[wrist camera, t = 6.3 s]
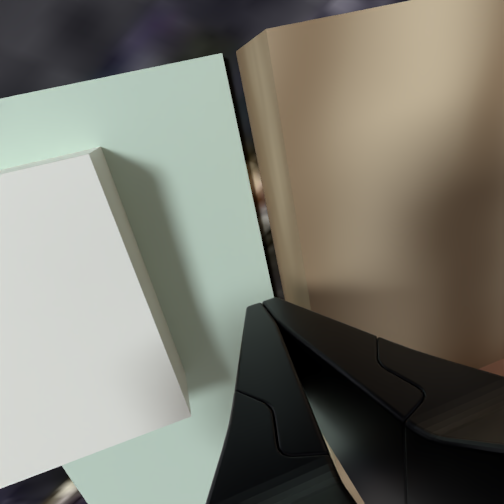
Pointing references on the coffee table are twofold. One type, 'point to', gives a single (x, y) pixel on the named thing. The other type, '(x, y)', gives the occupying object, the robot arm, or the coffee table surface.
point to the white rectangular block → (76, 321)
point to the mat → (165, 247)
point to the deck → (388, 171)
